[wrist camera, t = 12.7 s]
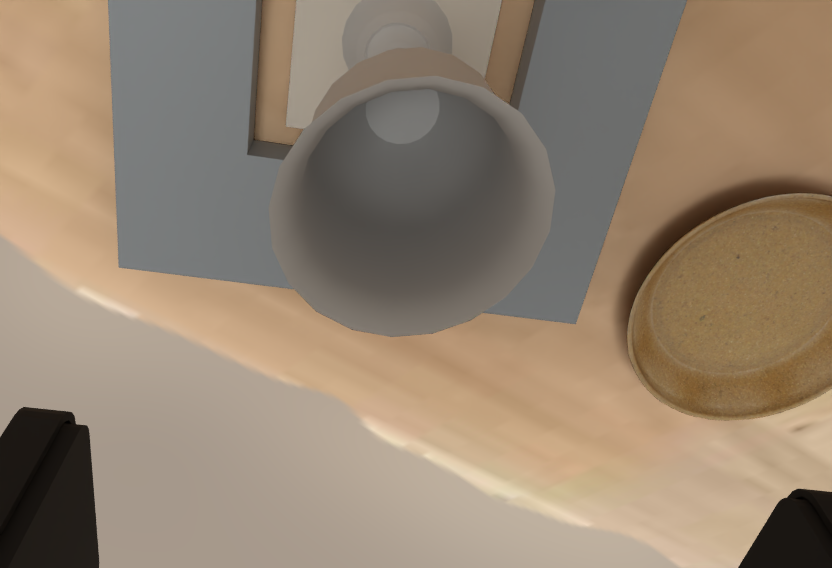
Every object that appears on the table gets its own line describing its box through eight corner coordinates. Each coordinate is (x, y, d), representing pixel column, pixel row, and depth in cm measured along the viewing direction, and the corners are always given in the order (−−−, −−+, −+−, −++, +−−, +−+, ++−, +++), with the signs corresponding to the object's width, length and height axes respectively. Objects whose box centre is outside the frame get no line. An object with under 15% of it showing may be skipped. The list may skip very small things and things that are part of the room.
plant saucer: (716, 430, 47) (733, 459, 45) (562, 307, 42) (572, 334, 40) (924, 279, 42) (955, 304, 40) (778, 117, 36) (804, 134, 34)
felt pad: (510, -41, 32) (511, -41, 32) (467, 152, 36) (468, 153, 36) (303, -80, 31) (303, -79, 31) (286, 125, 35) (285, 126, 35)
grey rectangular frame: (679, -35, 32) (696, -28, 31) (567, 304, 41) (575, 324, 40) (118, -142, 29) (102, -141, 28) (130, 248, 38) (118, 267, 37)
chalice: (397, 149, 36) (409, 378, 21) (288, 53, 33) (209, 234, 18) (506, 37, 33) (613, 204, 18) (397, -77, 31) (414, 6, 15)
